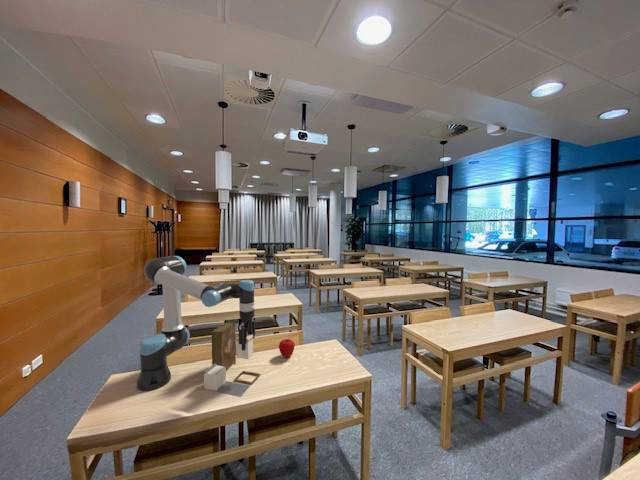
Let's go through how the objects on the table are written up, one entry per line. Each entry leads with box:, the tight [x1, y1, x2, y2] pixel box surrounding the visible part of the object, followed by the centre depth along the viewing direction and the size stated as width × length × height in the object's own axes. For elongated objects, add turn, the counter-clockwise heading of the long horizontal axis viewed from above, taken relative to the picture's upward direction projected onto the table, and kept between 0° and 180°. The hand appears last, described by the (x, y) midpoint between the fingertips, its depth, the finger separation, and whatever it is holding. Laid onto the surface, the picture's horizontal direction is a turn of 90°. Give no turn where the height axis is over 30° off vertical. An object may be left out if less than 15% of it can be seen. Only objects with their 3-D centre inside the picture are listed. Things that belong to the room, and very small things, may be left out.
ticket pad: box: [203, 364, 227, 392], centre depth 135 cm, size 7×8×9 cm
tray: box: [233, 370, 261, 385], centre depth 141 cm, size 11×9×2 cm
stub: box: [235, 333, 254, 360], centre depth 141 cm, size 7×5×11 cm
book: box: [211, 320, 237, 372], centre depth 151 cm, size 16×6×25 cm, turn 168°
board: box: [201, 380, 251, 398], centre depth 133 cm, size 22×9×1 cm, turn 74°
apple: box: [278, 338, 296, 358], centre depth 167 cm, size 10×10×11 cm
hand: (247, 352), depth 141 cm, fingers closed on stub, 5 cm apart
